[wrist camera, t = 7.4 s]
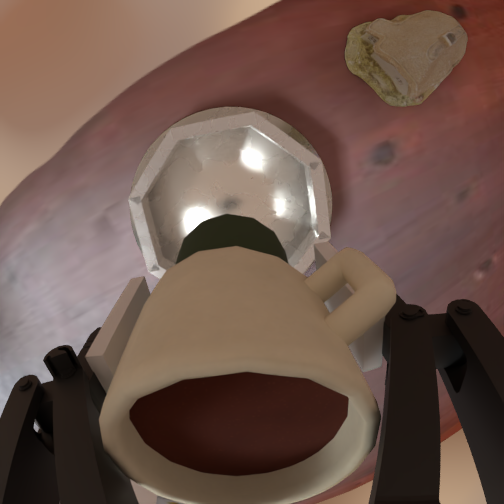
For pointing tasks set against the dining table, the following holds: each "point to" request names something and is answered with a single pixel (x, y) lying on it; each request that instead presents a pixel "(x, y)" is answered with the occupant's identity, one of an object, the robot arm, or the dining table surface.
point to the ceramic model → (406, 54)
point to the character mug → (246, 373)
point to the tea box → (166, 501)
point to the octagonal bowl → (230, 184)
